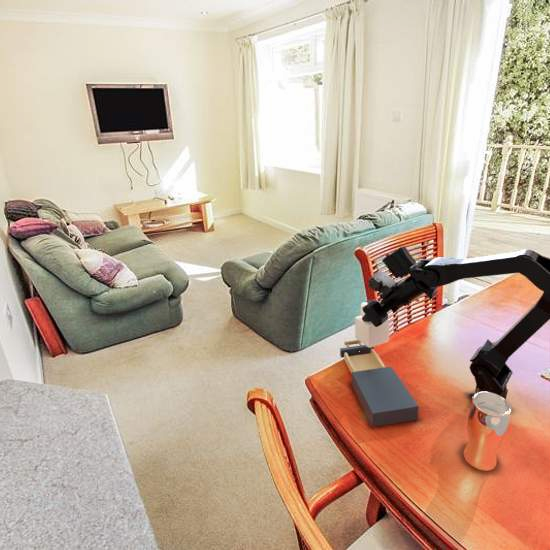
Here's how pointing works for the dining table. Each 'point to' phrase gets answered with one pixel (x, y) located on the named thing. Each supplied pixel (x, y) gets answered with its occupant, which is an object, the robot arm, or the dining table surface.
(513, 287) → the dining table surface
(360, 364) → the drawer
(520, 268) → the robot arm
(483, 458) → the beer glass
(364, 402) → the cabinet
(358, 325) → the medicine bottle
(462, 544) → the dining table surface
